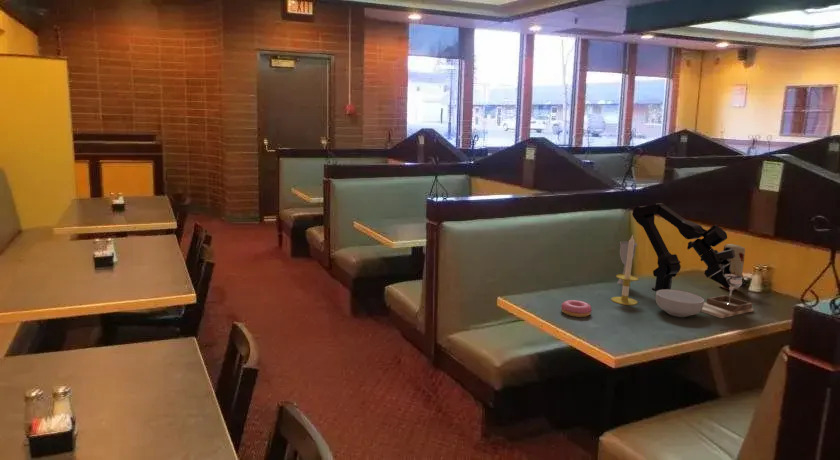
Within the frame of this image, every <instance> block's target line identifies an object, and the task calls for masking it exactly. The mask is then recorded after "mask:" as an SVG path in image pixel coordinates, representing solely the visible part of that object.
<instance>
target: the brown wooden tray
mask: <svg viewBox="0 0 840 460" xmlns="http://www.w3.org/2000/svg"><path fill="white" fill-rule="evenodd" d="M726 303H729V295H726V294H722V295H719V296H718V295H717V296H712V297H707V298H706V302H704V305H703V308H702V310H701V311H700V312H701V313H705V314H707V315H711V316H713V317H717V318H720V319H725V318H729V317H734V316H739V315H741V314H746V313H750V312H751V313H752V312H754V308H752V307H753V302H750V301H746V300H742V299H739V298H737V297H733V296H731V299H730V304H732V305H729V304H726ZM733 305H734V306H733Z"/></svg>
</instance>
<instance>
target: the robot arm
mask: <svg viewBox="0 0 840 460" xmlns="http://www.w3.org/2000/svg"><path fill="white" fill-rule="evenodd" d="M655 215H658V216H660V217H661V218H662V219H664V220H665V221H667V222H668V223H669V224H671V225H672V226H674V227H675V228H676V229H677V230H678V233H679V234H680V235H681V236H682V237H683V238H684V239H685V240H694V241H689V242H687V250H690V249H692V248H693V250H694V251H695V252H696V254H698V256H699V257H700V261H701V262H703V263H704V264H705V265H706V269H705V270H704V275H705V277H706V278H709V280H712V281H714V282H716V283H717V284H718V283H720V284H721V285H723V286H725V287H727V288H729V287H730V285H729V283H728V281H727V279H726V278H725V276H724V274H732V273H731V270H730V267H731V264H729V263H730V262H731V261H730V259H732V258H734V257H736V256H735V253H734V252H735V251H734V250H733V249H731V248H730V247H726V248H725V249H724V248H723V250H724V251H723V250H721V251H718V250H717V249H714V247H716V246H718V245H719V244H721V243H723V242H724V241H725V240H727V239H728V235H727V232H726V231H725V230H724V229H723V228H721V227H719V225H718V224H713V225H712V226H711V227H710V228H709V229H705V228H703V226H702V225H701V224H698V223H696V222H694V221H691V220H687V219H685V218H684V217H682V216H681V215H679V214H678V213H677V212H675V211H673V210H672V209H671V208H669V207H668V206H666V204H665V203H662V202H661V203H657V202H656V203H654V204H651V205H642V206H640V205H639V206H635V207H634V208H633V209H632V215H631V216H632V217H633V219H634V221H636V222H637V224H639V226H641V227H642V228H643V230H644V232H645V234H646V236H647V238H648V240H649V243H650V244H651V246H652V248H653V250H654V252H655V255H656V256H657V268H655V269H654V270H652V274H653V276H654V277H655V285H654V287H651V290H654V291H656V292H657V291H658V290H664V289H670V290H672V283H673V282H672V281H673V278H674V277H676V276H677V275H678V273H679V272H680V271H681V267H682V265H681V261H680V260H679V258H678V255H677V254H676V253H674V254H671V252H670V251H669V249H668V248H667V247H668V246H667V245H666V244H665V241H664V239H663V238H662V236H661V233H660V232H659V230H658V227H657V226H656V224H655ZM702 237H703V238H702ZM727 264H729V265H727Z"/></svg>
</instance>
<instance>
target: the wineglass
mask: <svg viewBox="0 0 840 460" xmlns="http://www.w3.org/2000/svg"><path fill="white" fill-rule="evenodd" d="M724 276H725V278H726V279H727V281H728V283H729V285H730V287H729V289H728V290H729V294H728V296H729V303H726V304H729V305H732V304H730V299H731V297H732V293H733V290H734V289H737V288H738V289H739V288H740V287H741V286H742V284H743V280H742V279H743V275H742V276H740V275H735V274H724ZM738 289H737V290H738ZM734 291H735V290H734ZM733 306H734V305H733Z"/></svg>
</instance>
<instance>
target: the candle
mask: <svg viewBox="0 0 840 460" xmlns="http://www.w3.org/2000/svg"><path fill="white" fill-rule="evenodd" d="M635 241H636V240H635V239H634V234H632V235H631V237H630V239H629V240H628V242H629V245H628V253H627V261H626V269H625V274H623V273H621V274H619V273H618V274H616V276H615V277H616V278H617V279H618V280H619V279H621V280H624V281H623V285H622V289H621V296H613V297H611V298H610V300H611V301H612V302H614V303H616V304H618V305H619V304H620V305H623V306H636V305H638V301H637V300H636V299H633V298H630V297H629V295H630V294H629V293H630V286H631V285H630V284H631V282H638V281H639V277H638V276H635V275H632V274H631V273H632V267H633V266H632V265H633V259H634V258H633V251H634V243H636V242H635Z"/></svg>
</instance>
